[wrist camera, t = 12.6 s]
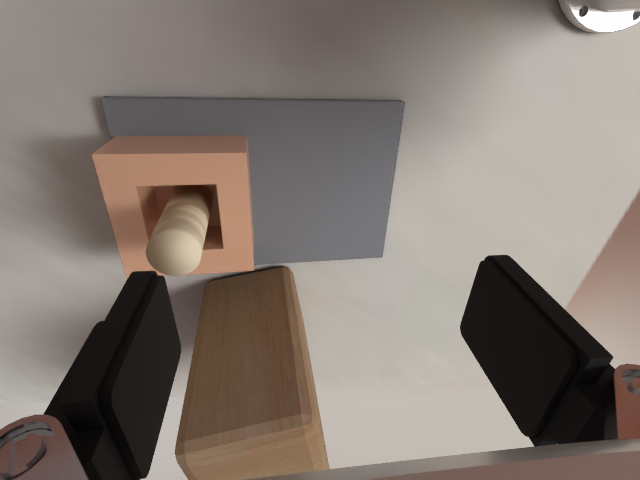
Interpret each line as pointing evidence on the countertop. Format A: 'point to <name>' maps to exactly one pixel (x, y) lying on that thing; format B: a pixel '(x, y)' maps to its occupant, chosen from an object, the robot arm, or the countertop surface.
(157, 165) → the terracotta box
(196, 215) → the birch dowel
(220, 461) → the wooden block
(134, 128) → the charcoal mat
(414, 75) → the countertop surface
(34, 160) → the countertop surface
